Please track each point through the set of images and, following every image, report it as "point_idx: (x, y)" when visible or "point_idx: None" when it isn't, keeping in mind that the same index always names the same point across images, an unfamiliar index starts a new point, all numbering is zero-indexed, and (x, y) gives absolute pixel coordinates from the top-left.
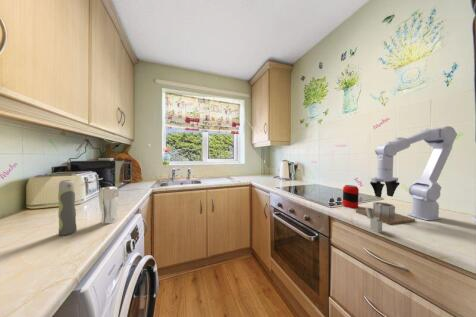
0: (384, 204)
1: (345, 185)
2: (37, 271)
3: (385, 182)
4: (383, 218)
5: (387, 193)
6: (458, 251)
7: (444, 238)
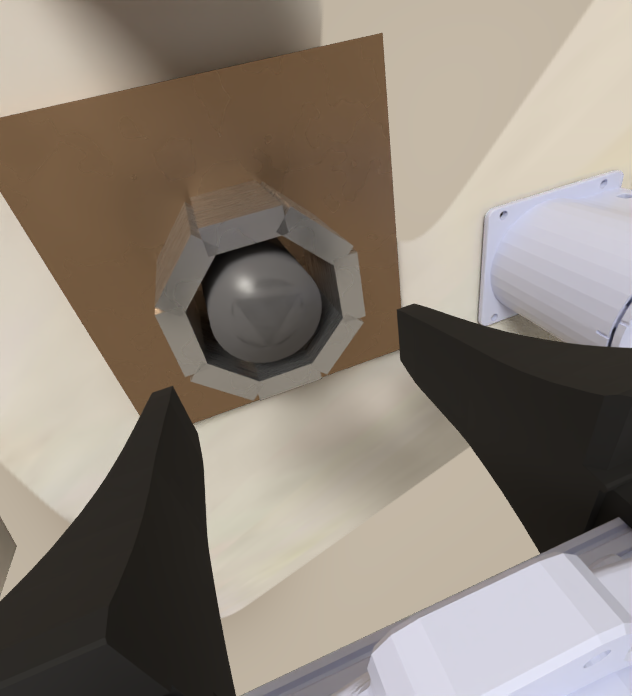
0: (273, 321)
1: None
2: None
3: (589, 408)
4: (168, 372)
5: (415, 325)
6: (246, 586)
7: (309, 512)
